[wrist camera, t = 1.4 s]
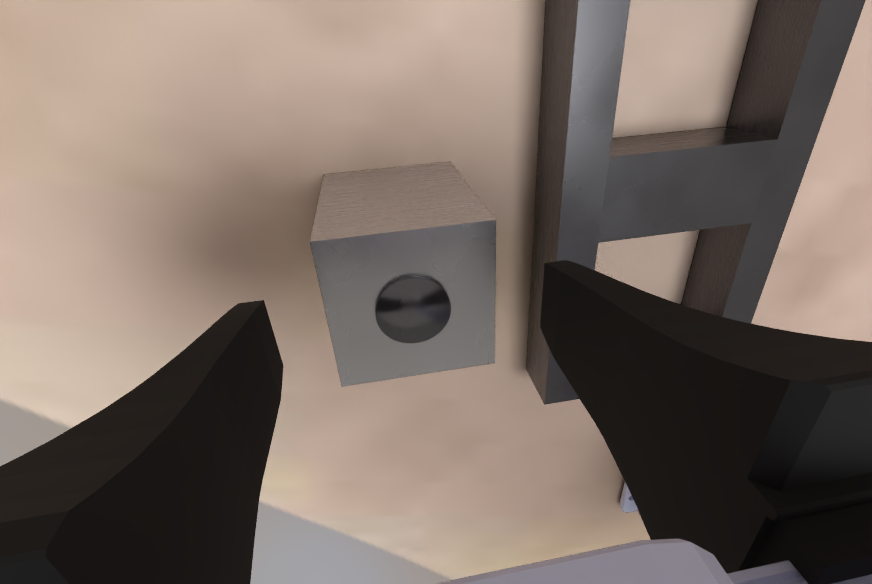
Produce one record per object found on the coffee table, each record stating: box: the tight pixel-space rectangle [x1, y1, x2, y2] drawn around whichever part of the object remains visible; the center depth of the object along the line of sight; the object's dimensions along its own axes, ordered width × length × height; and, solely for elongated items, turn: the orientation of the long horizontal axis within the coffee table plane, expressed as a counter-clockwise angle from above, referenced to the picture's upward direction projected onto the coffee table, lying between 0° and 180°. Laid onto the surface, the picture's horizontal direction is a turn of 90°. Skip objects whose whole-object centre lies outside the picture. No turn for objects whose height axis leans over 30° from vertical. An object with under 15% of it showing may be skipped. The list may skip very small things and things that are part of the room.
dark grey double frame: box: [526, 0, 865, 404], centre depth 17 cm, size 18×9×2 cm, turn 3°
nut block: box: [310, 161, 496, 386], centre depth 14 cm, size 4×4×6 cm
